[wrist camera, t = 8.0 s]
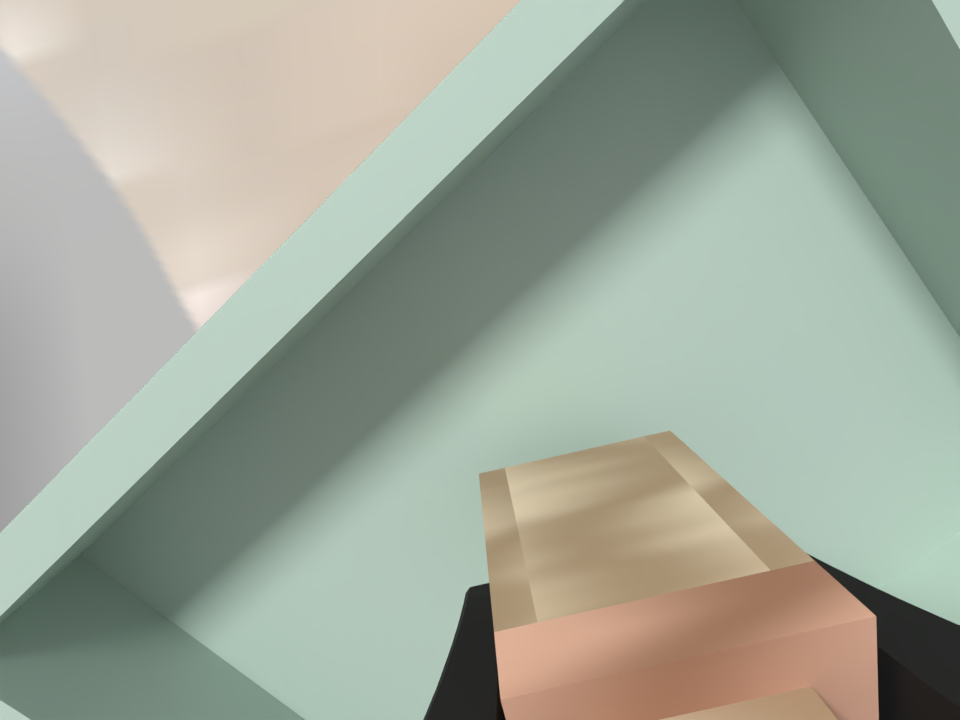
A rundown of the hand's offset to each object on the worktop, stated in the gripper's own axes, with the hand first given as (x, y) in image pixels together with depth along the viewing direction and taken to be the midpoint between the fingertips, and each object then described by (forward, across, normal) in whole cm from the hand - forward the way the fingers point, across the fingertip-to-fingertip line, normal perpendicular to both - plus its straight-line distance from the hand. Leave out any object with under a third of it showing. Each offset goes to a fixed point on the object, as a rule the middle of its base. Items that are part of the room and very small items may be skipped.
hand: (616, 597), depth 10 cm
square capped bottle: (+2, 0, 0) cm, 2 cm away
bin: (+4, 0, 0) cm, 4 cm away
